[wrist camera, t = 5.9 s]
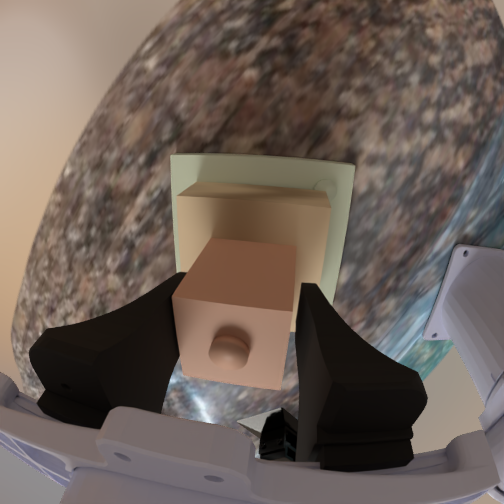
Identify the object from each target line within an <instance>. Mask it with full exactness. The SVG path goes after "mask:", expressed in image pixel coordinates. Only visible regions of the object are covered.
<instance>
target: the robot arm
mask: <svg viewBox="0 0 504 504" xmlns="http://www.w3.org/2000/svg"><path fill="white" fill-rule="evenodd" d="M465 250H466V253H465V254H463V253H464V251H465ZM186 274H187V272H178V273H176V274H175V275H173V276H172V277H170V278H169V279H167V280H166V281H164V282H163V283H161V284H160V285H158V286H157V287H155V288H154V289H152V290H151V291H149V292H148V293H146V294H144V295H143V296H141V297H139V298H138V299H136V300H134V301H133V302H131V303H129V304H127V305H125V306H123V307H121V308H119V309H117V310H115V311H112V312H110V313H107V314H104V315H102V316H99V317H96V318H94V319H90V320H87V321H84V322H80V323H76V324H72V325H67V326H61V327H55V328H48V329H46V330H45V332H44V333H43V334H42V335H41V336H40V337H39V339H38V340H37V341H36V342H35V343H34V345H33V346H32V347H31V348H30V350H29V358H30V362H31V364H32V367H33V369H34V370H35V372H36V374H37V376H38V377H39V379H40V381H41V383H42V384H43V386H44V388H45V389H46V390H45V391H44V393H43V394H42V396H41V397H40V399H39V400H36V399H33V398H31V397H29V396H27V395H25V394H24V393H22V392H19V389H18V387H17V386H16V384H15V383H14V381H13V380H12V379H11V378H10V377H8V376H7V375H5V374H3V373H1V372H0V446H2V447H3V448H5V449H6V450H7V451H9V452H10V453H12V454H13V455H14V456H16V457H17V458H19V459H20V460H22V461H23V462H25V463H26V464H28V465H29V466H31V467H32V468H34V469H36V470H37V471H39V472H40V473H42V474H43V475H45V476H47V477H48V478H50V479H52V480H53V481H55V482H57V483H58V484H60V485H62V486H64V487H66V490H65V492H64V495H63V497H62V499H61V502H60V504H471V503H472V502H474V501H475V500H477V499H478V498H480V497H481V496H483V495H484V494H486V493H488V494H489V495H490V496H491V497H492V498H494V499H495V500H497V501H499V502H500V503H502V504H504V250H503V249H495V248H488V247H480V246H473V245H465V244H458V245H456V246H455V247H454V249H453V252H452V255H451V258H450V262H449V265H448V268H447V271H446V274H445V277H444V280H443V283H442V286H441V288H440V291H439V294H438V297H437V299H436V302H435V305H434V307H433V310H432V312H431V315H430V317H429V320H428V322H427V324H426V327H425V329H424V331H423V338H424V339H425V340H447V339H451V340H452V341H453V343H454V345H455V347H456V349H457V351H458V353H459V354H460V356H461V358H462V360H463V362H464V364H465V366H466V368H467V370H468V372H469V373H470V376H471V378H472V380H473V382H474V384H475V386H476V388H477V390H478V392H479V395H480V397H481V399H482V401H483V403H484V406H485V410H484V412H483V413H482V414H481V415H480V417H479V420H480V422H481V425H482V428H483V430H478V431H474V432H471V433H467V434H463V435H460V436H458V437H456V438H454V439H453V440H452V441H451V442H450V443H449V444H448V445H447V447H446V448H444V449H439V450H434V451H429V452H424V453H418V454H413V450H412V445H411V441H410V439H412V438H413V431H412V425H413V424H414V423H415V421H416V420H417V418H418V417H419V416H420V414H421V413H422V411H423V410H424V408H425V406H426V404H427V399H428V397H427V394H426V391H425V388H424V385H423V382H422V380H421V378H420V376H419V374H418V372H417V371H415V370H412V369H410V368H408V367H406V366H404V365H402V364H400V363H398V362H396V361H394V360H392V359H391V358H389V357H387V356H386V355H384V354H383V353H381V352H380V351H378V350H377V349H375V348H374V347H373V346H371V345H370V344H369V343H367V342H366V341H365V340H363V339H362V338H361V337H360V336H359V335H358V334H357V333H356V332H354V331H353V330H352V329H351V328H350V327H349V326H348V325H347V324H346V323H345V321H344V320H343V319H342V318H341V317H340V316H339V314H338V313H337V312H336V311H335V309H334V308H333V307H332V305H331V304H330V303H329V301H328V300H327V299H326V297H325V296H324V294H323V293H322V291H321V290H320V288H319V287H318V285H317V284H316V283H305V282H301V288H300V296H299V302H298V309H297V316H296V327H295V345H296V356H297V366H298V377H299V417H298V434H297V448H296V460H295V462H284V461H268V460H263V459H259V458H255V449H256V448H255V446H254V444H253V442H252V440H251V439H250V438H249V437H248V436H246V435H245V434H243V433H241V432H239V431H238V430H236V429H233V428H229V427H225V426H221V425H218V424H211V423H205V422H199V421H193V420H188V419H182V418H177V417H172V416H168V415H163V414H161V410H162V406H163V402H164V398H165V395H166V391H167V388H168V384H169V381H170V378H171V375H172V372H173V370H174V367H175V365H176V363H177V361H178V358H179V356H180V353H179V346H178V340H177V333H176V326H175V319H174V311H173V303H172V295H173V293H174V292H175V290H176V289H177V287H178V286H179V284H180V283H181V281H182V280H183V278H184V277H185V275H186ZM434 333H435V334H434Z"/></svg>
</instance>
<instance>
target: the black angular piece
mask: <svg viewBox="0 0 504 504" xmlns="http://www.w3.org/2000/svg"><path fill="white" fill-rule="evenodd" d="M237 422H238V423H239V424H240V425H242V426H243V427H244V428H246V429H247V430H249V431H250V432H251V433H253V434H254V435H256V436H257V437H259V438H260V446H259V454H260V459H263V460H268V461H284V462H295V460H296V448H297V434H298V420H297V419H296V418H294V417H293V416H292V415H291V414H290V413H288V412H287V411H286V410H285V409H284V408H278V409H275V410H272V411H269V412H265V413H262V414H259V415H256V416H252V417H249V418H245V419H242V420H238V421H237ZM264 444H265V445H264Z"/></svg>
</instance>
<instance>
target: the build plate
mask: <svg viewBox="0 0 504 504" xmlns="http://www.w3.org/2000/svg"><path fill="white" fill-rule="evenodd" d="M354 172H355V165H353V164H352V163H344V162H336V161H327V160H317V159H307V158H296V157H283V156H268V155H250V154H225V153H174V154H172V155H171V190H172V211H173V228H174V243H175V256H176V268H177V273H178V272H181V265H180V251H179V236H178V219H177V197H176V196H177V195H178V194H180V193H181V192H183V191H184V190H185V189H187V188H188V187H190V186H191V185H192V184H194V183H195V182H217V183H234V184H250V185H263V186H276V187H287V188H298V189H308V190H318V191H326V193H327V196H328V199H329V202H330V206H331V214H330V222H329V229H328V236H327V243H326V250H325V256H324V262H323V269H322V275H321V281H320V286H319V288H320V290H321V291H322V293H323V294H324V296H325V297H326V299H327V300H328V301H329V303H330V304H331V305H332V303H333V299H334V294H335V289H336V284H337V279H338V274H339V269H340V264H341V258H342V253H343V247H344V241H345V235H346V229H347V223H348V216H349V210H350V203H351V196H352V188H353V180H354Z"/></svg>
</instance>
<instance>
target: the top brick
mask: <svg viewBox="0 0 504 504" xmlns="http://www.w3.org/2000/svg"><path fill="white" fill-rule="evenodd" d="M295 265H296V246H291V245H281V244H271V243H261V242H250V241H240V240H229V239H219V238H210V240H209V241H208V243H207V244H206V246H205V247H204V249H203V250H202V251H201V253H200V254H199V256H198V257H197V259H196V260H195V262H194V263H193V265H192V266H191V268H190V269H189V271H188V272H187V274H186V275H185V277H184V278H183V280H182V281H181V283H180V284H179V286H178V287H177V289H176V290H175V292H174V293H173V295H172V303H173V311H174V319H175V326H176V333H177V340H178V346H179V353H180V359H181V365H182V371H183V375H186V376H190V377H195V378H201V379H206V380H212V381H217V382H223V383H229V384H236V385H243V386H250V387H257V388H265V389H274V390H281V384H282V378H283V372H284V366H285V360H286V354H287V347H288V341H289V334H290V328H291V321H292V314H293V301H294V284H295Z"/></svg>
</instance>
